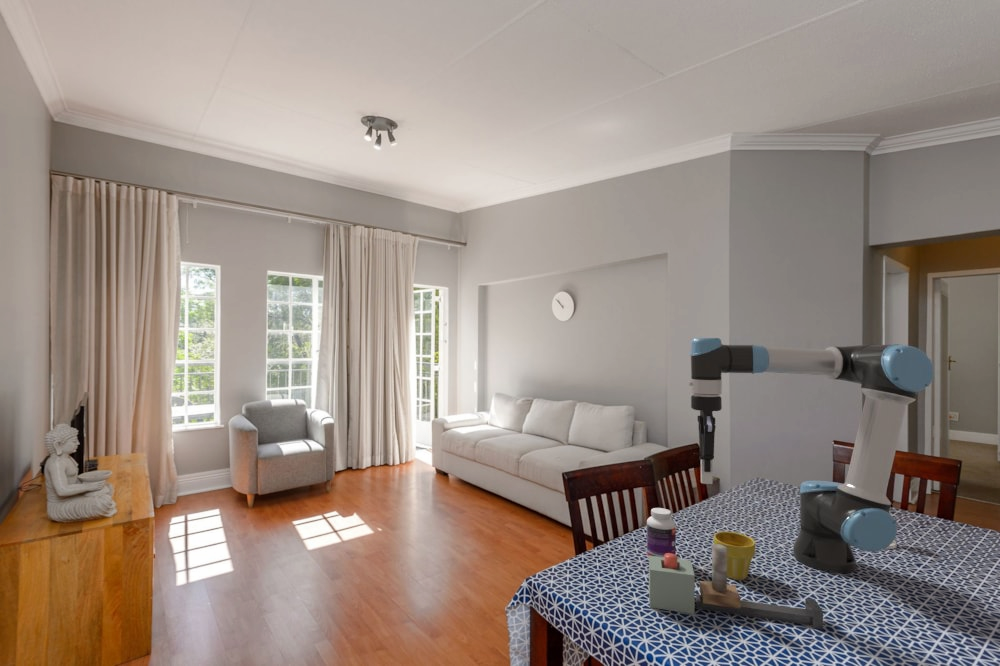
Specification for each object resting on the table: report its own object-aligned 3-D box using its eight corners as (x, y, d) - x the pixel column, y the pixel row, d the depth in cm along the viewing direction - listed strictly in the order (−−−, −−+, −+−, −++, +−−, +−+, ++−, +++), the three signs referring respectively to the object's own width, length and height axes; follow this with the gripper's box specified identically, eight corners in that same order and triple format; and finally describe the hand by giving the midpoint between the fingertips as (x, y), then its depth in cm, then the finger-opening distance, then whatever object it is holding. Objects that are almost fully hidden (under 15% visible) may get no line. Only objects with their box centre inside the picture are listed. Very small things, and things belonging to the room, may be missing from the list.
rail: (814, 617, 113) (814, 599, 113) (823, 629, 108) (823, 611, 108) (695, 600, 120) (695, 584, 120) (698, 611, 115) (698, 594, 115)
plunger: (676, 570, 120) (676, 553, 120) (677, 575, 117) (677, 559, 117) (663, 568, 121) (664, 552, 121) (664, 574, 118) (664, 557, 118)
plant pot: (758, 586, 127) (758, 549, 127) (715, 579, 130) (715, 542, 130) (752, 569, 136) (752, 534, 136) (712, 562, 140) (712, 529, 140)
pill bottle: (677, 568, 136) (677, 517, 137) (648, 565, 138) (648, 514, 138) (673, 555, 144) (673, 507, 144) (645, 553, 146) (645, 505, 146)
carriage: (735, 595, 118) (735, 544, 118) (740, 608, 112) (740, 554, 112) (699, 590, 120) (699, 540, 120) (703, 603, 114) (703, 550, 114)
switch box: (690, 596, 121) (690, 560, 121) (694, 613, 114) (694, 575, 114) (648, 590, 124) (649, 555, 124) (649, 607, 116) (650, 569, 116)
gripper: (688, 392, 137) (688, 475, 137) (694, 397, 125) (694, 489, 124) (716, 392, 135) (717, 477, 135) (725, 398, 123) (726, 491, 122)
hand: (706, 482), depth 130 cm, fingers closed
